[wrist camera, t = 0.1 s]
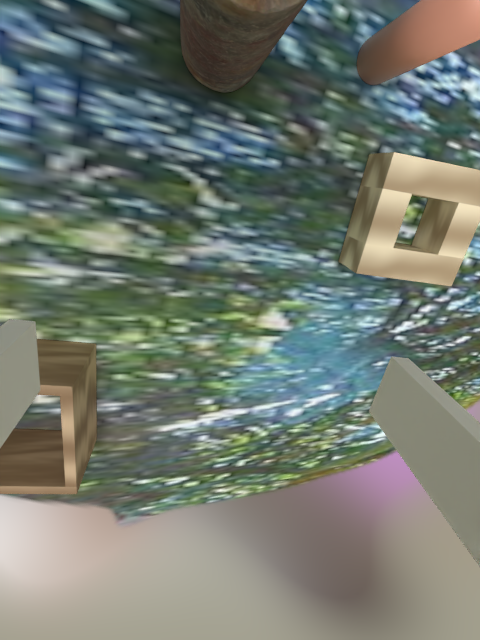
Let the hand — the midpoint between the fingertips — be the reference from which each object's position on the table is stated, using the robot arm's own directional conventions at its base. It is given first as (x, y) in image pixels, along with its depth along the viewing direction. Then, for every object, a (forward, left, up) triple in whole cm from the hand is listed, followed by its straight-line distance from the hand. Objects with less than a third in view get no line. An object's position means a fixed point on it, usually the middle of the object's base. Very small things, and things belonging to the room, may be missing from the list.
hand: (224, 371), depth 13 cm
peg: (-19, +15, -28) cm, 37 cm away
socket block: (-5, +23, -28) cm, 36 cm away
